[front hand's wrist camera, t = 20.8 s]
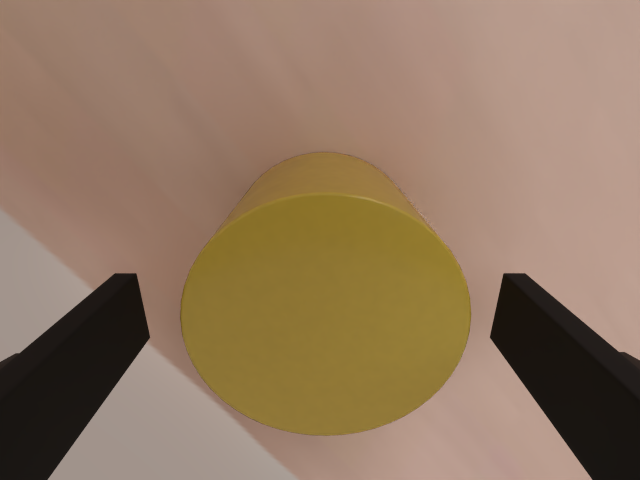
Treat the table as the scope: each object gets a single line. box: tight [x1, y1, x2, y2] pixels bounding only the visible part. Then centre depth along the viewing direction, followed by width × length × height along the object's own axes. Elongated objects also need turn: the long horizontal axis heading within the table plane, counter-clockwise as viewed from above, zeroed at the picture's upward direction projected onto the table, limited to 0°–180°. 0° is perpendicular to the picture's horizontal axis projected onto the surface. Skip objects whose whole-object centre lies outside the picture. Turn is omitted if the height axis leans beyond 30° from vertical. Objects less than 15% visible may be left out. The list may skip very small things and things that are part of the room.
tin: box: [180, 152, 471, 436], centre depth 14 cm, size 9×9×7 cm
